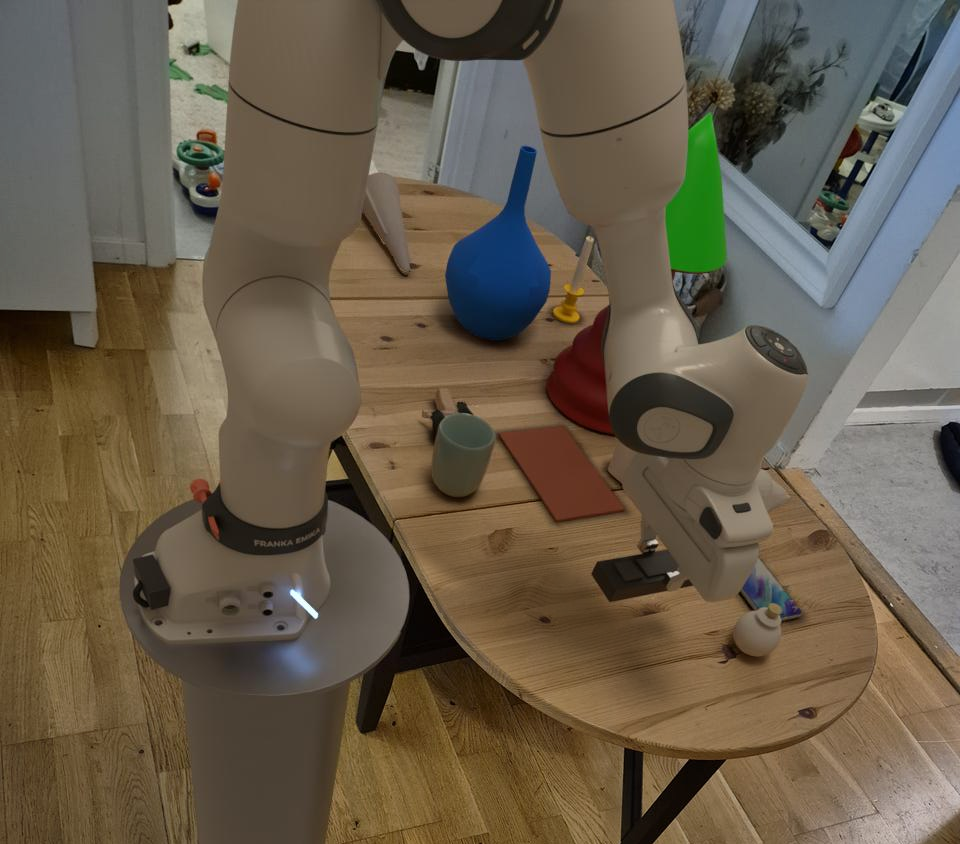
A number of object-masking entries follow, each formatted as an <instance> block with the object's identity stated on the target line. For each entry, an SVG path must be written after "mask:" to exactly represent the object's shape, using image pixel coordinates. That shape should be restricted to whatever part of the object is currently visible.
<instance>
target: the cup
mask: <svg viewBox="0 0 960 844" xmlns="http://www.w3.org/2000/svg"><path fill="white" fill-rule="evenodd" d="M435 436H436V437H435V439H434V446H433V452H432V457H431V466H430V467H431V476H432V481H433V483H434V485H435V486H436V487H437V489H438V490H439V491H440V492H442V493H444V494H445V495H447V496H449V497H453V498H464V497H467V496H469V495H471V494H473V493H474V492H475V491H476V490H477V489H478V488H479V487H480V486H481V484H482V482H483V480H484V478H485V475H486V473H487V471H488V467H489V464H490V461H491V459H492V458H491V457H492V454H493V450H494V446H495V443H496V433H495V430H494V428H493V427H492V426H491V425H490V423H488V422H487V421H486V420H484V419H482V418H481V417H480V416H479V417H478V416H477V415H474V414H473V415H472V414H467V413H458V412H457V413H456V414H452V415H449V416H447V417H445V418H444V419H443V420H442V421H441V422H440V424H439V427H438V431H437V435H435Z"/></svg>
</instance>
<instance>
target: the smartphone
mask: <svg viewBox="0 0 960 844" xmlns="http://www.w3.org/2000/svg"><path fill="white" fill-rule="evenodd" d="M739 593H740V594H741V596H742V597H743V598H744V599H745V600H746V602H747V603H748V604H749V605H750V607H751V608H752V610H753V611H758V609H760V608H762V607H766V608H768V607H769V604H771V603H775V604H777V605H779V606H780V607H781V608H782V613H780V614H779V616H780V618H781V622H784V621H789V620H793V619H797V618H798V619H799V618H800V617H801V616H802V615H803V610H802V609H801V607H800V608H797V609H796V608H792V607H795V606H798V604H797V603H796V601H793V602H792V601H790V600H793V599H794V598H792V597H791V595H790V594H789V593H788V591H787V590H786V589H785V588H784V587H783V586H782V584H781V583H780V582H779V580H778V579H777V578H776V576H775V575H774V573H772V572H771V570H770V569H769V568H768V566H767V565H766V564H765V563H764V561H763V560H762V559H761V558H760V557H759V556H758V560H757V562H756V564H755V566H754V568H753V570H752V572H751V574H750V576H749V577H748V579H747V581H746V582H745V584H744V586H743V587H742V589H741V590H740V591H739ZM791 602H792V603H791ZM795 609H796V610H795ZM786 616H787V617H786ZM785 617H786V619H785V620H784V619H782V618H785Z"/></svg>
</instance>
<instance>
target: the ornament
mask: <svg viewBox="0 0 960 844" xmlns="http://www.w3.org/2000/svg"><path fill="white" fill-rule="evenodd" d="M796 598H797V597H796V596H795V597H794V598H792V599H793V600H790V601H792V602H793V601H794V602H797V601H798V599H796ZM792 602H791V603H792ZM801 604H802V602H800V603H798V604H797V606H795V607H792V608H796V609H797V608H800V609H801V608H803V607H804V606H803V605H801ZM796 609H795V610H796ZM780 613H782V608H781V607H780V606H779V605H777V604H775V603H771V604H769V607H768V608H766V607H762V608H760V609H758V611H754V610H751V611H747V612H746V613H744V614H742V615H741V616H740V617H739V618H738V619H737V620H736V622H735V624H734V626H733V629H732V636H733V641H734V643H735V645H736V647H737V648H738V649H739V650H740V651H741V652H743V653H744V654H746V655H748V656H751V657H763V656H767V655H769V654H770V653H773V652H774V651H775V650H776V649H777V648H778V647H779V645H780V642H781V640H782V636H783V635H782V633H783V632H782V626H781V624H782V621H781V618H780V616H779V614H780ZM786 617H787V616H786ZM786 617H785V618H782V619H784V621H786V620H785V619H786Z"/></svg>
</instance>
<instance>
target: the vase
mask: <svg viewBox="0 0 960 844" xmlns="http://www.w3.org/2000/svg"><path fill="white" fill-rule="evenodd" d="M537 153H538V151H537V149H536V148H534V147H533V146H529V145H521V146H520V148H519V152H518V156H517V160H516V164H515V168H514V171H513V176H512V181H511V183H510V188H509V191H508V196H507V199H506V202H505V205H504V207H503V209H502V210H501V211H500V212H499V213H498V214H497V215H496V216H495V217H493V218H492V219H490V220H489V221H487V222H486V223H485V224H483V225H482V226H480V228H478V229H476V230H474V231H473V232H471V233H470V234H468V235H466V236H464V237H463V238H461V239H459V240H458V241H457V242H456V243H455V244H454V245H453V247H452V249H451V252H450V254H449V257H448V259H447V262H446V268H445V275H444V277H445V284H446V285H445V286H446V292H447V299H448V302H449V305H450V307H451V310H452V312H453V315H454V317H455V318H456V319H457V321H458V322H459V324H460V325H461V327H462V328H463V329H465V330H466V331H467V332H469V334H471V335H473V336H476V337H477V338H480V339H485V340H489V341H505V340H508V339H511V338H513V337H515V336H517V335H519V334H520V333H522V332H523V331H525V329H527V328H528V327H529V326H530V325H532V323H533V322H534V320H535V319H536V318H537V316H538V315H539V313H540V312H541V310H542V309H543V308H544V306H545V305H546V303H547V302H548V301H547V300H548V297H549V294H550V290H551V278H552V269H551V268H550V265H549V262H548V261H547V259H546V258H545V256H544V255H543V253H542V251H541V249H540V247H539V246H538V244H537V242H536V239H535V237H534V236H533V233H532V232H531V229H530V228H529V227H530V226H529V225H528V223H527V219H526V218H527V217H526V214H525V213H526V212H525V211H526V209H525V207H526V203H527V200H528V199H527V198H528V193H529V191H530V185H531V181H532V176H533V172H534V167H535V164H536V163H535V162H536V158H537V155H538V154H537Z"/></svg>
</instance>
